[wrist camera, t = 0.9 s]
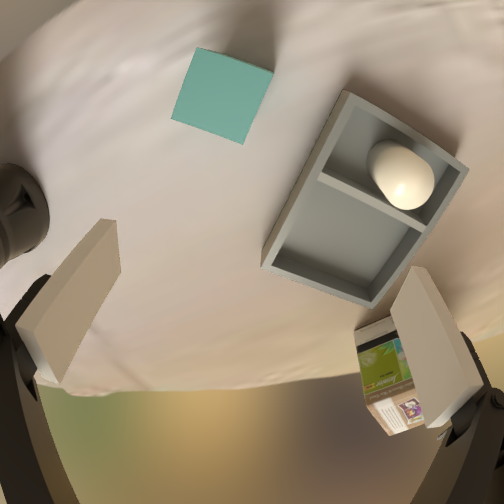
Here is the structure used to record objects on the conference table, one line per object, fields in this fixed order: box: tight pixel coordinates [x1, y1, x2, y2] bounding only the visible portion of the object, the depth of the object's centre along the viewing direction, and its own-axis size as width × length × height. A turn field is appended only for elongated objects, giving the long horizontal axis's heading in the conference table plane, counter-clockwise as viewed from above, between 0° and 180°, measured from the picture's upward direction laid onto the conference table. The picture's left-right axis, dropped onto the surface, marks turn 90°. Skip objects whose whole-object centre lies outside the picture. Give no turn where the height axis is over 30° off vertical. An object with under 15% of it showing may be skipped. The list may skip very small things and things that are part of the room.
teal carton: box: [171, 48, 274, 145], centre depth 27 cm, size 6×6×12 cm
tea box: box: [354, 315, 425, 436], centre depth 45 cm, size 15×10×15 cm
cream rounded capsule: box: [366, 139, 434, 210], centre depth 31 cm, size 6×6×7 cm
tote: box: [260, 90, 470, 309], centre depth 36 cm, size 17×23×4 cm
